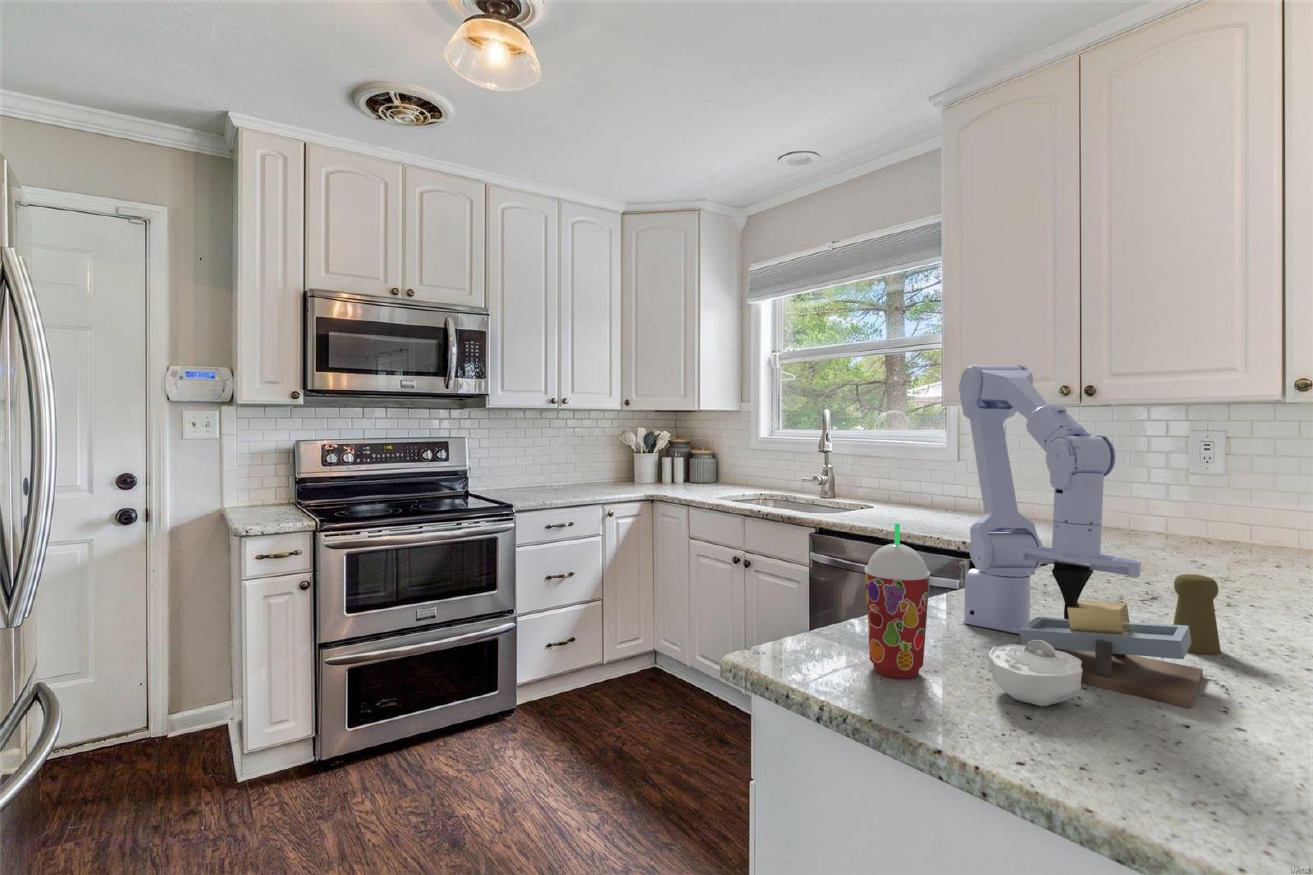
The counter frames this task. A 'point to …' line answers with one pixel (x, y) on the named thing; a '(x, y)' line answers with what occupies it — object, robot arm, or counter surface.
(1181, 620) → the cork
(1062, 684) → the cell model
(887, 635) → the smoothie
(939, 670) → the counter surface
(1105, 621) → the block
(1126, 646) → the beam
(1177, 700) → the stand
